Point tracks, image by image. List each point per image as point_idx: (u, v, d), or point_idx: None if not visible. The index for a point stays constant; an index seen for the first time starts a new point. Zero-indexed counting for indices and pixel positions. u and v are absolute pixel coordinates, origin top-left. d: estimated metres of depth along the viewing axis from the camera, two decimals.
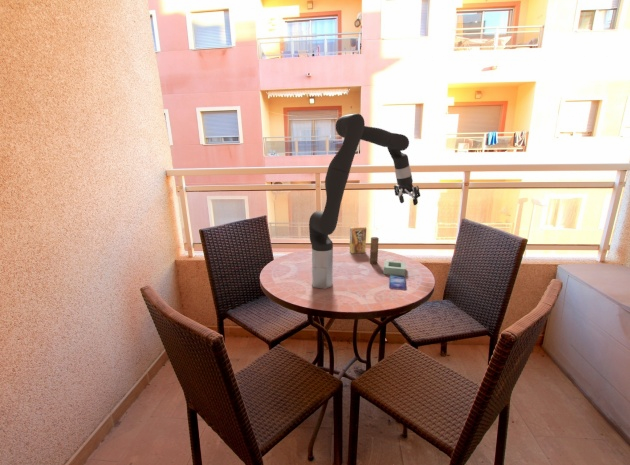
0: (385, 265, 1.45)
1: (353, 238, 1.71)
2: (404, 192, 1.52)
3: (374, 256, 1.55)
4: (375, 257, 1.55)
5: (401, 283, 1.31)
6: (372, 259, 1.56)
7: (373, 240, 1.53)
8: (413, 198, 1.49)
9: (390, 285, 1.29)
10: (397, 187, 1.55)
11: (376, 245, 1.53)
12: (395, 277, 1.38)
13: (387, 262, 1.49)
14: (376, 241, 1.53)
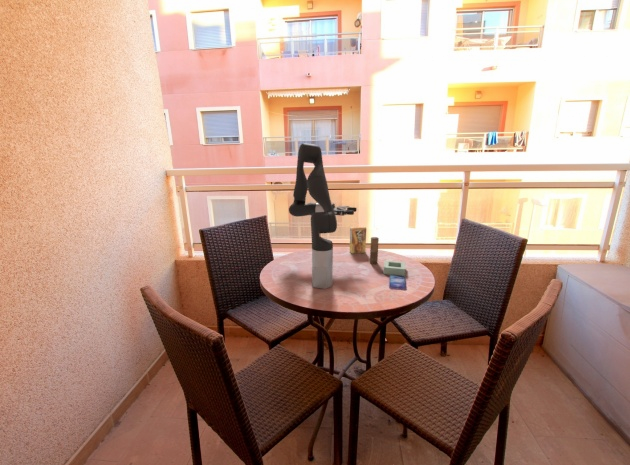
0: (385, 265, 1.45)
1: (353, 238, 1.71)
2: None
3: (374, 256, 1.55)
4: (375, 257, 1.55)
5: (401, 283, 1.31)
6: (372, 259, 1.56)
7: (373, 240, 1.53)
8: (348, 206, 1.59)
9: (390, 285, 1.29)
10: None
11: (376, 245, 1.53)
12: (395, 277, 1.38)
13: (387, 262, 1.49)
14: (376, 241, 1.53)
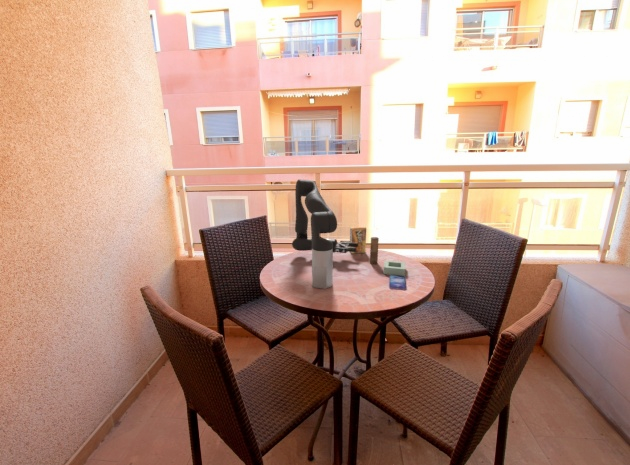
0: (385, 265, 1.45)
1: (353, 238, 1.71)
2: (344, 245, 1.59)
3: (374, 256, 1.55)
4: (375, 257, 1.55)
5: (401, 283, 1.31)
6: (372, 259, 1.56)
7: (373, 240, 1.53)
8: (350, 242, 1.63)
9: (390, 285, 1.29)
10: None
11: (376, 245, 1.53)
12: (395, 277, 1.38)
13: (387, 262, 1.49)
14: (376, 241, 1.53)
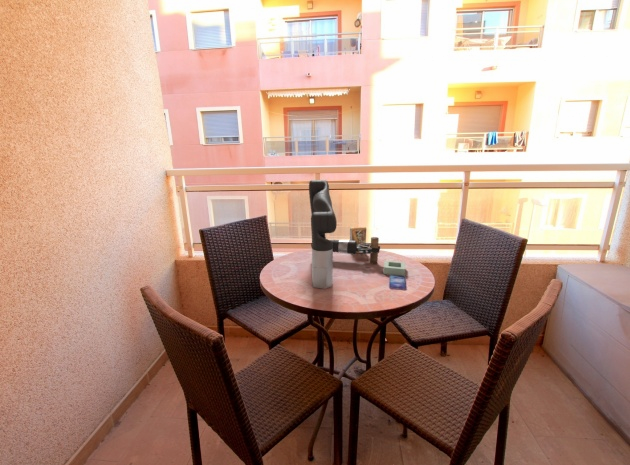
0: (385, 265, 1.45)
1: (353, 238, 1.71)
2: (364, 246, 1.57)
3: (374, 256, 1.55)
4: (375, 257, 1.55)
5: (401, 283, 1.31)
6: (372, 259, 1.56)
7: (373, 240, 1.53)
8: None
9: (390, 285, 1.29)
10: None
11: (376, 245, 1.53)
12: (395, 277, 1.38)
13: (387, 262, 1.49)
14: (376, 241, 1.53)
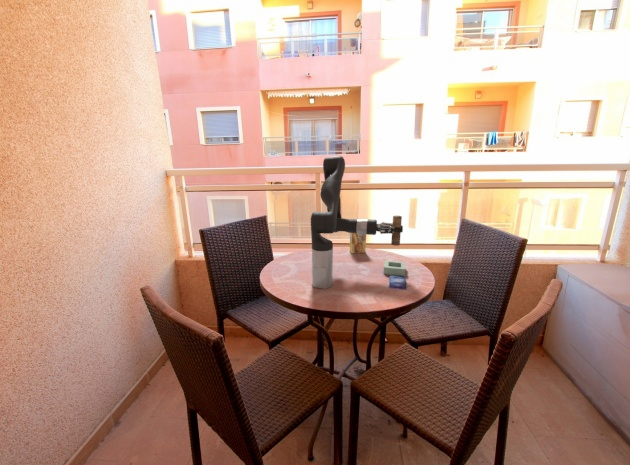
0: (385, 265, 1.45)
1: (353, 238, 1.71)
2: None
3: (396, 237, 1.40)
4: (398, 237, 1.40)
5: (401, 283, 1.31)
6: (394, 240, 1.41)
7: (396, 218, 1.38)
8: None
9: (390, 285, 1.29)
10: None
11: (399, 224, 1.39)
12: (395, 277, 1.38)
13: (387, 262, 1.49)
14: (399, 219, 1.38)
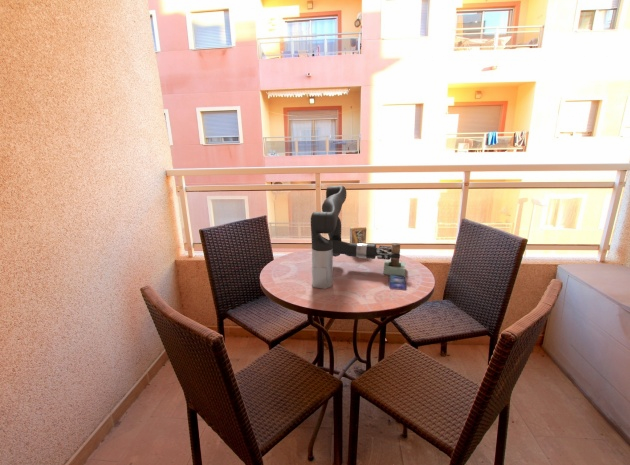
0: (385, 265, 1.45)
1: (353, 238, 1.71)
2: None
3: (395, 264, 1.43)
4: (396, 265, 1.44)
5: (401, 283, 1.31)
6: None
7: (394, 247, 1.41)
8: None
9: (390, 285, 1.29)
10: None
11: (398, 252, 1.42)
12: (395, 277, 1.38)
13: (387, 262, 1.49)
14: (398, 248, 1.41)
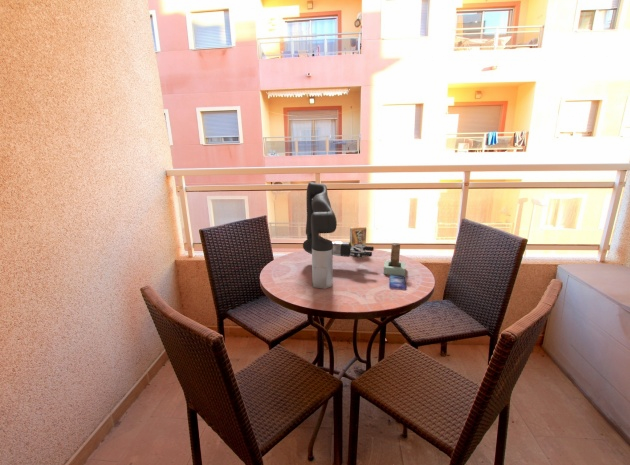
0: (385, 265, 1.45)
1: (353, 238, 1.71)
2: (358, 248, 1.48)
3: (395, 264, 1.43)
4: (396, 265, 1.44)
5: (401, 283, 1.31)
6: None
7: (394, 247, 1.41)
8: (365, 245, 1.52)
9: (390, 285, 1.29)
10: None
11: (397, 252, 1.42)
12: (395, 277, 1.38)
13: (387, 262, 1.49)
14: (398, 248, 1.41)
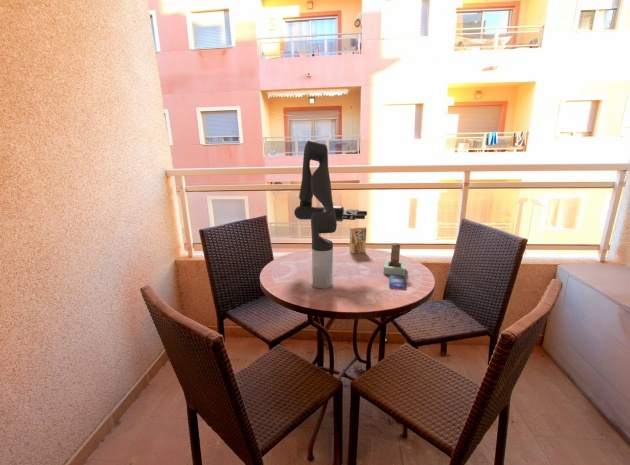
0: (385, 265, 1.45)
1: (353, 238, 1.71)
2: None
3: (395, 264, 1.43)
4: (396, 265, 1.44)
5: (401, 283, 1.31)
6: None
7: (394, 247, 1.41)
8: (358, 210, 1.49)
9: (390, 285, 1.29)
10: None
11: (397, 252, 1.42)
12: (395, 277, 1.38)
13: (387, 262, 1.49)
14: (398, 248, 1.41)
